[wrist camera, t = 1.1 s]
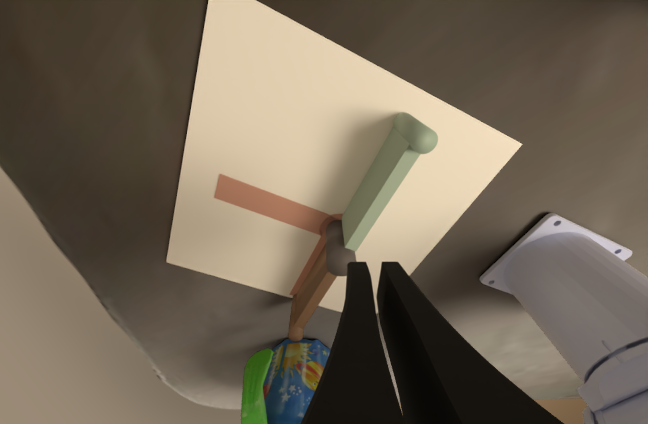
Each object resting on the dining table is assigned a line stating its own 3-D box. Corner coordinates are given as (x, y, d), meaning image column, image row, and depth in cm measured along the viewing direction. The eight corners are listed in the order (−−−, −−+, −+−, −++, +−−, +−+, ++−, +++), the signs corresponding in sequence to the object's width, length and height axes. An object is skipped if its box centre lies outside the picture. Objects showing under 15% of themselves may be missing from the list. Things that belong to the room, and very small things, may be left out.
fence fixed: (355, 224, 20) (362, 259, 16) (306, 303, 25) (304, 343, 21) (332, 215, 19) (334, 250, 16) (287, 298, 24) (281, 337, 21)
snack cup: (227, 323, 27) (182, 452, 18) (322, 301, 25) (322, 431, 16) (286, 391, 35) (275, 503, 26) (362, 377, 33) (376, 493, 24)
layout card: (519, 142, 17) (523, 144, 17) (370, 318, 26) (370, 321, 26) (214, -22, 12) (211, -24, 12) (167, 259, 22) (165, 262, 22)
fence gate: (416, 117, 15) (443, 135, 12) (353, 222, 19) (359, 257, 16) (399, 108, 15) (422, 124, 12) (338, 216, 19) (342, 251, 16)
